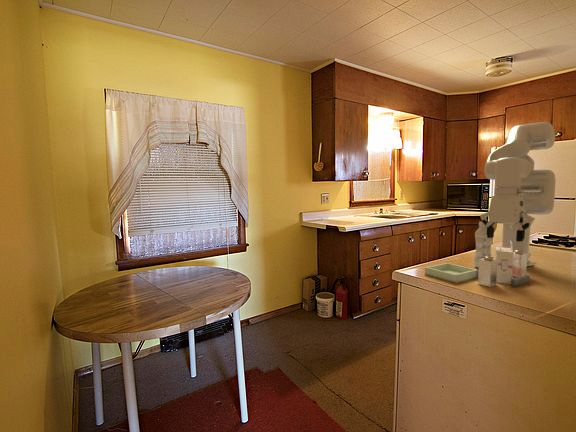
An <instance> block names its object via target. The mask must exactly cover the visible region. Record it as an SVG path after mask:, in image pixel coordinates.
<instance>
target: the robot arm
mask: <svg viewBox="0 0 576 432" xmlns="http://www.w3.org/2000/svg"><path fill="white" fill-rule="evenodd" d="M555 141H556V134H555V130H554V126H553V125H552V123H550V122H548V121H540V122H533V123H532V122H531V123H526V124H525V123H524V124H520V125H519V124H518V125H515V126H514V127H512V128H511V129H510V130H509V132H508V134H507V137H506V138H505V141H504V145H502V146H499V147H498V148H497V149H495V150H493V151H492V152H491V153H490V154H489V155H488V156H487V159H486V162H485V165H484V170H483V172H484V173H483V174H484V176H485V178H486V179H487V180H492V181H494V189H493V190H494V191H493V196H491V199H490V203H489V209H488V211H487V212H485V213H482V214H480V215H479V216H480V219H481V221H482V222H483V223H484V224H485V226H486V227H487V238H492V239H493V238H494V237H495V236H494V235H495V227H494V226H495V225H496V224H502V241H501V242H502V243H501V247H502V248H511V244H510V240H511V242H512V244H513V252H514V250H521V251H523V253H526V254H527V267H532V266H534V263H533V261H531V260H529V259H530V258H531V257H532V253H531V252H530V240H531V239H530V235H531V226H532V224H533V223H534V221H535V220H536V219H535V217H533V216H531V215H538V216H539V215H545V216H546V215H549V214H551V213H552V212H553V211H554V207H555V196H556V195H555V194H556V174H555V173H554V171H552V170H550V169H535V160H534V159H533V158H532V157H531V156H530V155H528V154H529V153H530V151H540V150H548V149H551V148H552V147H553V146H554V144H555ZM487 217H488V219H487Z"/></svg>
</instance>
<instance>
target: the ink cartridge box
mask: <svg viewBox="0 0 576 432" xmlns="http://www.w3.org/2000/svg"><path fill="white" fill-rule="evenodd" d="M510 244H511V248H502V246H501V247H499V246H496V247H495V260H498V261H497V284H507V285H511V279H513V276H512V272H513V244H512V242H511V240H510Z"/></svg>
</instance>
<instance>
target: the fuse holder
mask: <svg viewBox="0 0 576 432" xmlns="http://www.w3.org/2000/svg"><path fill="white" fill-rule="evenodd" d="M497 261H498V260H496V259H494V257H493V256H491V257H490V256H484V258H483V259H479V268H478V277H477V279H478V280H477V285H480V286H483V287H484V286H485V287H487V288H492V287H496V286H497V284H498V282H497ZM527 267H528V266H527V254H526V253H523V251H521V250H514V252H513V272H512V279H511V284H510V287H512V288H516V287H519V286H522V285H526V284H530V280H531V279H530V278H531V276H530V275H528V274H527ZM513 277H514V278H513Z"/></svg>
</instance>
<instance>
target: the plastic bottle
mask: <svg viewBox="0 0 576 432" xmlns="http://www.w3.org/2000/svg"><path fill="white" fill-rule="evenodd" d="M474 238H475V253H474V258H473V264H474V267H475V268H477V269H479V259H483V258H484V256H490V257H492V256H491V255H492V254H491V253H492V252H491V251H492V250H491V247H492V241H493V238H487V227H486V226H485V224H484V223H483V222H482V220H481V221H479V223H478V228H477V230H475V232H474Z"/></svg>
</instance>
